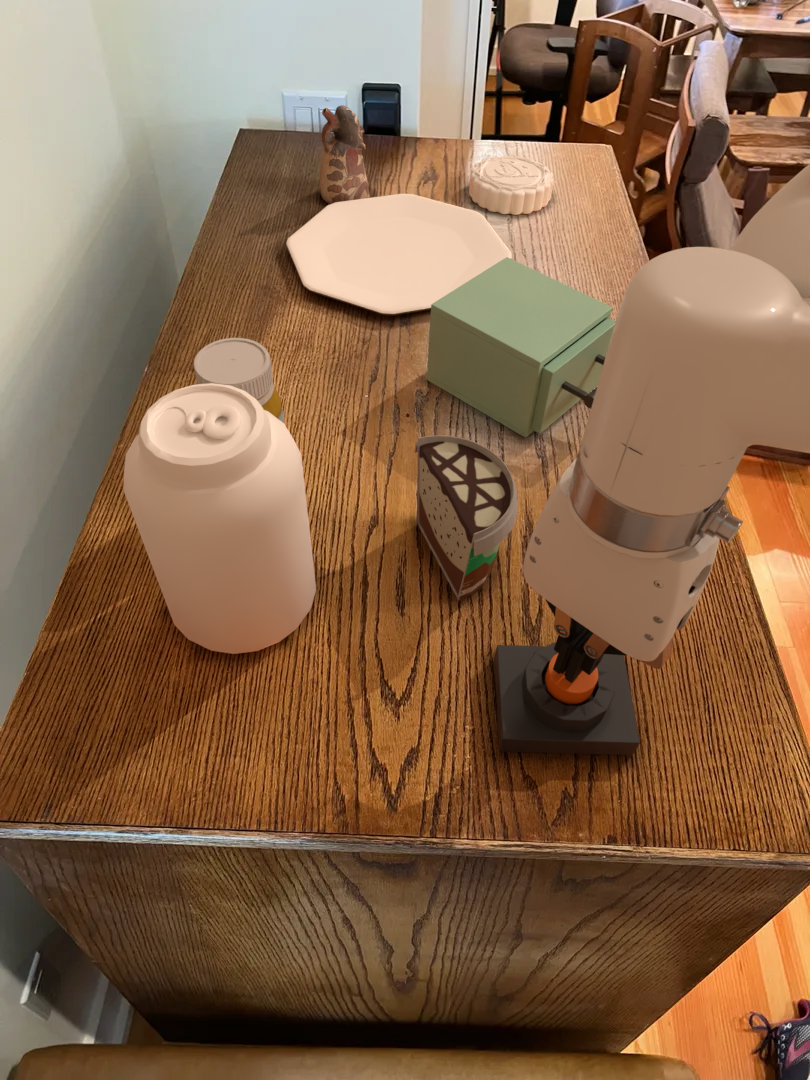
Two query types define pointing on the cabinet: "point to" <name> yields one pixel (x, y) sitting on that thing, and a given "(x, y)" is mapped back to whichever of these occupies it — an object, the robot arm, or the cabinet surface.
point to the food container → (463, 507)
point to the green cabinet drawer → (572, 376)
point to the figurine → (342, 158)
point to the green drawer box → (505, 338)
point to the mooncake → (510, 185)
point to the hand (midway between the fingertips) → (573, 663)
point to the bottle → (240, 370)
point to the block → (561, 707)
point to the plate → (393, 251)
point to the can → (223, 517)
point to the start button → (570, 685)
